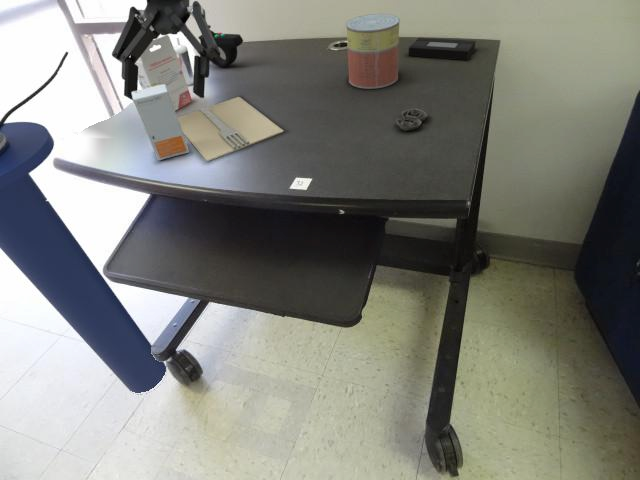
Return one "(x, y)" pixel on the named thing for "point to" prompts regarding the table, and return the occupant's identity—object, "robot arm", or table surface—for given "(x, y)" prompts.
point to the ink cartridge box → (164, 71)
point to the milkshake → (184, 62)
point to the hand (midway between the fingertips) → (164, 96)
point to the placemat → (231, 115)
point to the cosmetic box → (160, 121)
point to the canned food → (373, 50)
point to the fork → (225, 130)
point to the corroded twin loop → (411, 119)
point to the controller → (224, 47)
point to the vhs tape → (442, 48)
